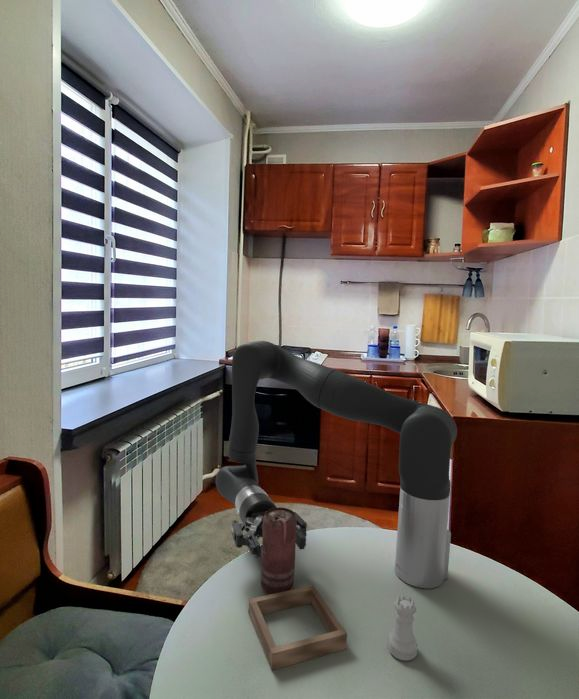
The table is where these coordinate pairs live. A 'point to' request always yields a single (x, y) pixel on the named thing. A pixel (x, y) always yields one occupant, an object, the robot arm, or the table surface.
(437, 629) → the table surface
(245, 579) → the table surface
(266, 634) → the walnut collar
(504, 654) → the table surface
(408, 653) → the rook chess piece
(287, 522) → the can
